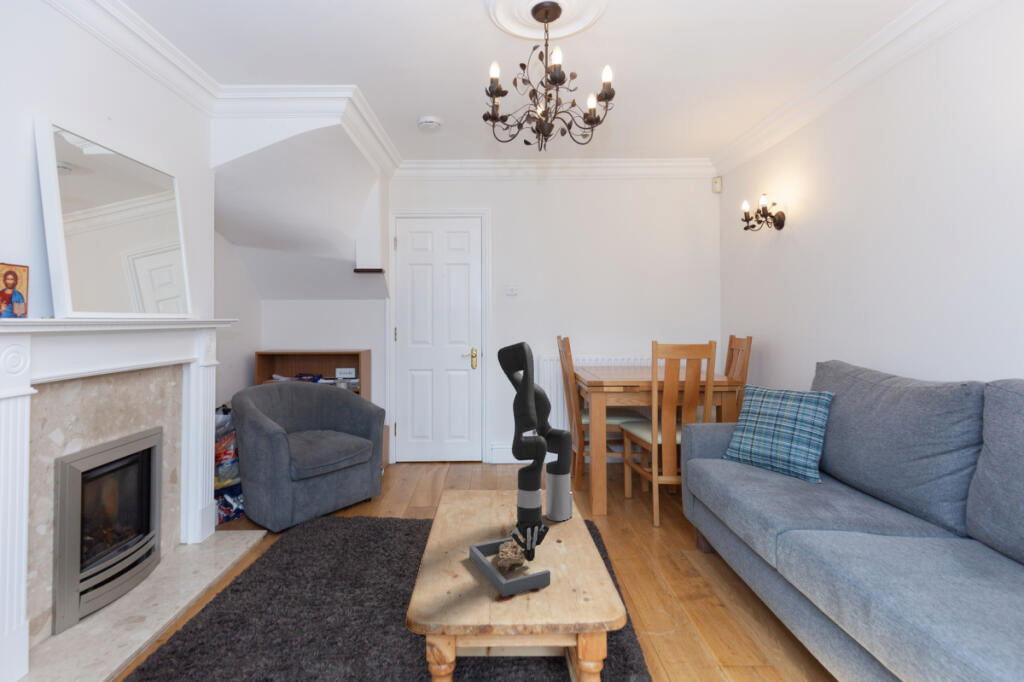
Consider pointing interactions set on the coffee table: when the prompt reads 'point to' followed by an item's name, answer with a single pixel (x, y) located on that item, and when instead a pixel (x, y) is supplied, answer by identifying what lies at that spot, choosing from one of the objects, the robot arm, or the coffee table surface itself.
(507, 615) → the coffee table surface
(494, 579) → the bracket
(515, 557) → the rock
